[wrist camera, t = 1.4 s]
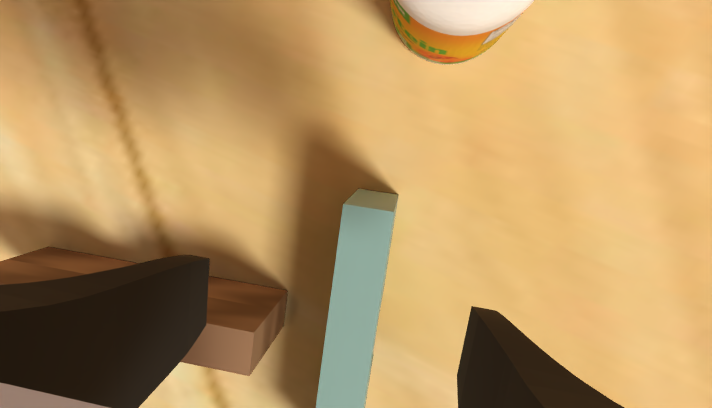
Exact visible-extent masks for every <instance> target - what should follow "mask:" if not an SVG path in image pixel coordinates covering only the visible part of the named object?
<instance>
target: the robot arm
mask: <svg viewBox="0 0 712 408" xmlns="http://www.w3.org/2000/svg"><path fill="white" fill-rule="evenodd" d="M208 279H209V258H203V257H198V256H192V255H180V256H173V257H167V258H162V259H157V260H153V261H148V262H144V263H139V264H134V265H130V266H125V267H121V268H116V269H111V270H106V271H101V272H96V273H90V274H85V275H80V276H74V277H68V278H61V279H55V280H46V281H38V282H30V283H19V284H4V285H0V408H138V407H139V406H140V405H141V404H142V403H143V402H144V401H145V400H146V399H147V398H148V396H149V395H150V394H151V393H152V392H153V391H154V390H155V389H156V388H157V387H158V386H159V384H160V383H161V382H162V381H163V380H164V379H165V378H166V377H167V376H168V375H169V373H170V372H171V371H172V370H173V369H174V368H175V367H176V366H177V365H178V363H179V362H180V361H181V360H182V359H183V358H184V357H185V355H186V354H187V353H188V352H189V350H190V349H191V347H192V346H193V345H194V343H195V342H196V340H197V339H198V337H199V336H200V334H201V332H202V331H203V329H204V328H205V326H206V321H207V300H208ZM457 387H458V408H624V407H622V406H621V405H619V404H617V403H615V402H614V401H612V400H611V399H609V398H607V397H606V396H604V395H603V394H601V393H600V392H598V391H597V390H595V389H594V388H592V387H591V386H589V385H588V384H586V383H585V382H583V381H582V380H580V379H579V378H577V377H576V376H575V375H573V374H572V373H571V372H569V371H568V370H567V369H565V368H564V367H563V366H562V365H560V364H559V363H558V362H556V361H555V360H554V359H552V358H551V357H550V356H549V355H548V354H546V353H545V352H544V351H543V350H542V349H540V348H539V347H538V346H537V345H536V344H535V343H533V342H532V341H531V340H530V339H529V338H528V337H527V336H525V335H524V334H523V333H522V332H521V331H520V330H519V329H518V328H516V327H515V326H514V325H513V324H512V323H511V322H510V321H509V320H507V319H506V318H505V317H504V316H503V315H501V314H500V313H499V312H497V311H495V310H489V309H484V308H478V307H473V306H472V307H471V312H470V317H469V321H468V326H467V331H466V336H465V340H464V345H463V350H462V355H461V359H460V364H459V369H458V374H457Z"/></svg>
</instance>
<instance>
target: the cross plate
mask: <svg viewBox="0 0 712 408" xmlns="http://www.w3.org/2000/svg"><path fill="white" fill-rule="evenodd" d="M397 201H398V194H391V193H385V192H378V191H372V190H365V189H358V190H357V191H356V192H355V193H354V194H353V195H352V196H351V197H350V198H349V199H348V200H347V201H346V202H345V203H344V204H343V209H342V216H341V224H340V231H339V238H338V246H337V253H336V260H335V268H334V275H333V283H332V290H331V297H330V305H329V312H328V320H327V327H326V334H325V342H324V349H323V356H322V364H321V371H320V379H319V386H318V393H317V401H316V408H365V404H366V398H367V391H368V385H369V379H370V372H371V366H372V359H373V349H374V343H375V337H376V330H377V324H378V317H379V312H380V307H381V301H382V296H383V290H384V283H385V277H386V270H387V264H388V258H389V251H390V245H391V239H392V232H393V226H394V220H395V213H396V207H397Z"/></svg>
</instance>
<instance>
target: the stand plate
mask: <svg viewBox="0 0 712 408" xmlns="http://www.w3.org/2000/svg"><path fill="white" fill-rule="evenodd" d="M134 264H139V263H134V262H128V261H123V260H117V259H112V258H107V257H101V256H96V255H90V254H85V253H79V252H74V251H68V250H63V249H57V248H52V247H46V248H43V249H40V250H36V251H33V252H30V253H27V254H23V255H20V256H17V257H14V258H10V259H7V260H4V261H0V285H4V284H19V283H30V282H38V281H46V280H55V279H61V278H68V277H74V276H80V275H85V274H90V273H96V272H101V271H106V270H111V269H116V268H121V267H125V266H130V265H134ZM287 293H288V291H287V290H281V289H276V288H270V287H265V286H259V285H254V284H248V283H243V282H238V281H232V280H227V279H221V278H216V277H210V276H209V279H208V300H207V321H206V326H205V328H204V329H203V331H202V332H201V334H200V336H199V337H198V339H197V340H196V342H195V343H194V345H193V346H192V347H191V349H190V350H189V352H188V353H187V354H186V355H185V357H184V358H183V359H182V360H181V361H180V362H184V363H189V364H194V365H198V366H203V367H208V368H213V369H218V370H223V371H228V372H232V373H237V374H242V375H247V376H250V374H251V373H252V372H253V370H254V369H255V367H256V366H257V364H258V363H259V361H260V360H261V358H262V357H263V355H264V354H265V352H266V351H267V349H268V348H269V346H270V345H271V343H272V342H273V341H274V339H275V338H276V336H277V335H278V333H279V332H280V330H281V329H282V327H283V326H284V318H285V310H286V301H287Z"/></svg>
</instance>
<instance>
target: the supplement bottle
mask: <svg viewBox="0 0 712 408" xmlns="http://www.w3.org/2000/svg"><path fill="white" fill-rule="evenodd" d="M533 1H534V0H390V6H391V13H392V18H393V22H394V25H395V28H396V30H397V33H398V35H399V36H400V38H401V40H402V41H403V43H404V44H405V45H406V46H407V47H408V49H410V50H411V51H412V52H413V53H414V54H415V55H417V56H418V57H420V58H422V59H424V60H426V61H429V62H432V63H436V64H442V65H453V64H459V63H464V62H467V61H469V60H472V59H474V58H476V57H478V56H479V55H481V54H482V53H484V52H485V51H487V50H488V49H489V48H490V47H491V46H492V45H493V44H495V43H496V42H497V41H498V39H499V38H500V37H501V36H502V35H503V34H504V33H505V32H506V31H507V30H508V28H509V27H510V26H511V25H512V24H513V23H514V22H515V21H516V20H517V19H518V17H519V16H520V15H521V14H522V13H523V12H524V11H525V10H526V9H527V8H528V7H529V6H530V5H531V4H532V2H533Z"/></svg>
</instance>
